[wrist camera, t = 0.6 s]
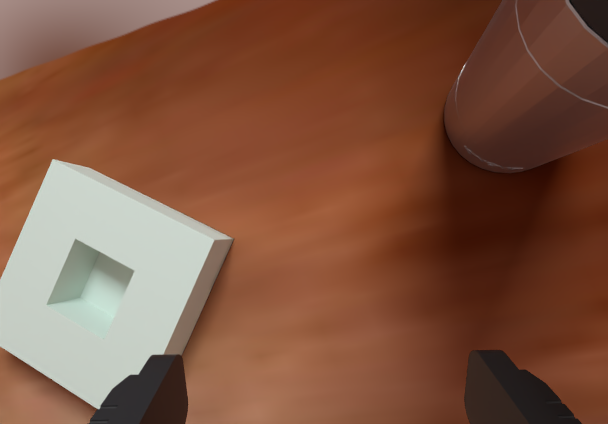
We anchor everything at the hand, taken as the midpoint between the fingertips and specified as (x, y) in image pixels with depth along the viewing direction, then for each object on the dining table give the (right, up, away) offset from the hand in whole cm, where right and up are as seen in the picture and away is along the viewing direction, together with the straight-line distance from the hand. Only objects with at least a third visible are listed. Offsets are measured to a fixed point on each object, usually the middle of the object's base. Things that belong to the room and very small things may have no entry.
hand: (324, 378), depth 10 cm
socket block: (-17, -2, +23) cm, 29 cm away
